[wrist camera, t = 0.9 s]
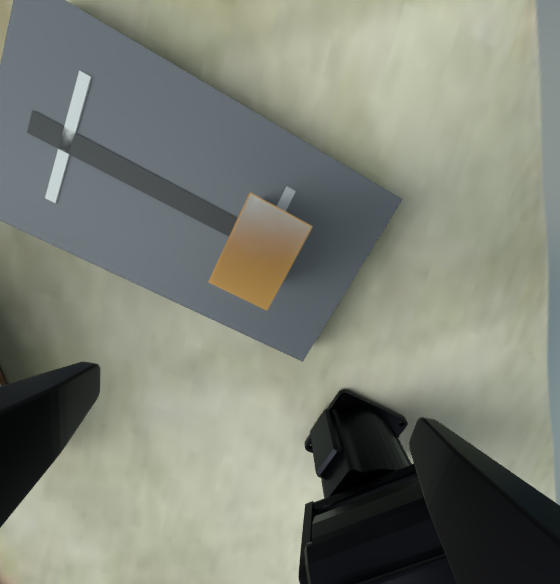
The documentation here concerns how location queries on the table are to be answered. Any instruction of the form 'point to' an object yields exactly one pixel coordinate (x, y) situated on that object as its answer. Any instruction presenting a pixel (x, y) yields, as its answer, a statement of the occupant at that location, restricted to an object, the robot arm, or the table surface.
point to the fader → (259, 252)
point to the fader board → (168, 174)
